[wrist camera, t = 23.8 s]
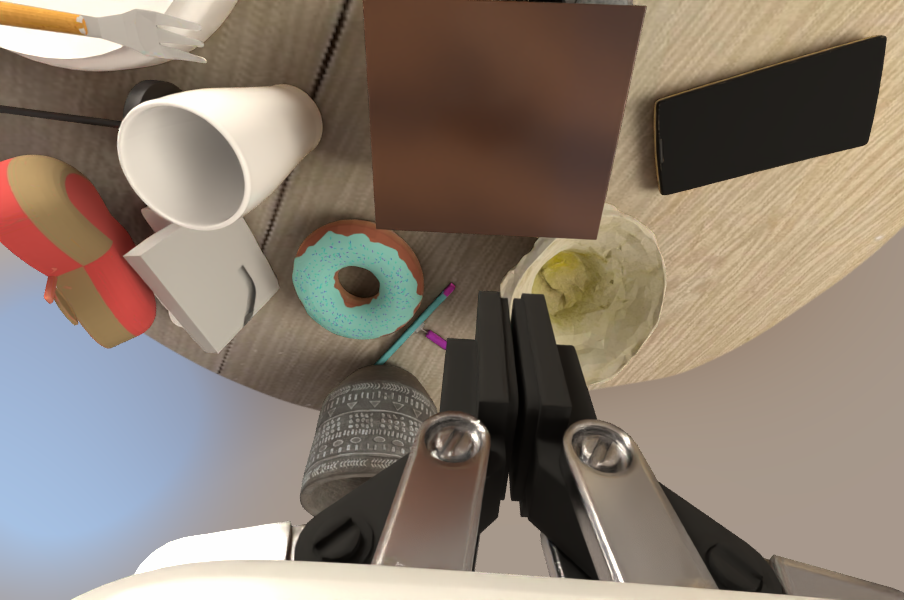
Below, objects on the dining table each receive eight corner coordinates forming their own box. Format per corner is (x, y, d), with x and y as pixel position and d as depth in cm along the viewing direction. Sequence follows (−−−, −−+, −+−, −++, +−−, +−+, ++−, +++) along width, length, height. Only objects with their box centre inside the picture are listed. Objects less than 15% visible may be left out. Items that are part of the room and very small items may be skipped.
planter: (395, 430, 54) (384, 541, 45) (307, 391, 49) (274, 508, 39) (460, 384, 48) (464, 501, 39) (369, 335, 43) (347, 457, 33)
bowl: (671, 295, 41) (721, 363, 33) (535, 351, 45) (549, 424, 37) (616, 155, 35) (661, 194, 26) (464, 235, 39) (460, 291, 31)
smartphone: (872, 144, 32) (660, 198, 35) (860, 141, 33) (655, 193, 36) (892, 32, 29) (654, 102, 31) (878, 32, 30) (649, 100, 32)
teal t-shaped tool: (399, 401, 49) (362, 379, 47) (400, 396, 50) (364, 374, 48) (490, 314, 42) (450, 285, 41) (489, 310, 43) (450, 281, 42)
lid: (594, 235, 27) (597, 240, 26) (378, 225, 28) (375, 229, 27) (642, 7, 21) (647, 5, 20) (365, -3, 22) (362, -5, 21)
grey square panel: (248, 188, 39) (217, 192, 40) (124, 222, 30) (91, 224, 31) (287, 308, 44) (259, 307, 45) (192, 370, 34) (160, 366, 36)
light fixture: (-92, 144, 37) (197, 183, 36) (-216, 123, 30) (135, 170, 29) (-95, 60, 36) (201, 98, 35) (-224, 19, 29) (138, 66, 28)
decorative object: (156, 266, 43) (172, 347, 32) (114, 283, 41) (117, 373, 31) (55, 126, 34) (33, 175, 24) (-2, 142, 33) (-51, 201, 22)
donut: (275, 251, 41) (256, 271, 37) (375, 186, 37) (365, 202, 34) (354, 340, 46) (344, 365, 42) (450, 291, 42) (447, 314, 39)
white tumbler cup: (232, 88, 34) (82, 122, 21) (310, 59, 32) (201, 77, 20) (275, 173, 37) (169, 246, 24) (347, 149, 36) (275, 214, 23)
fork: (-152, -33, 25) (200, 19, 25) (-114, -29, 26) (217, 20, 26) (-127, 20, 26) (208, 68, 26) (-91, 21, 27) (223, 66, 28)
